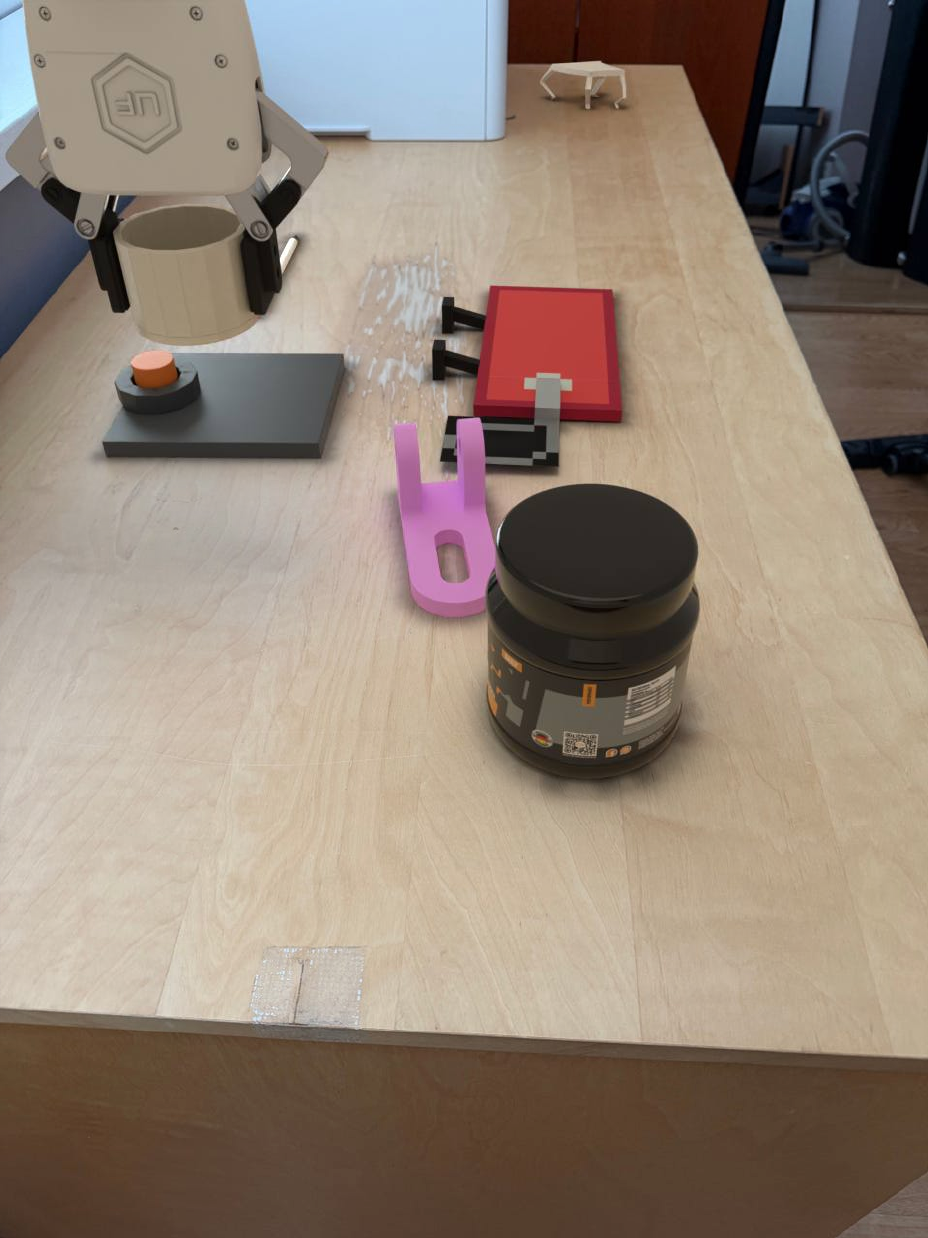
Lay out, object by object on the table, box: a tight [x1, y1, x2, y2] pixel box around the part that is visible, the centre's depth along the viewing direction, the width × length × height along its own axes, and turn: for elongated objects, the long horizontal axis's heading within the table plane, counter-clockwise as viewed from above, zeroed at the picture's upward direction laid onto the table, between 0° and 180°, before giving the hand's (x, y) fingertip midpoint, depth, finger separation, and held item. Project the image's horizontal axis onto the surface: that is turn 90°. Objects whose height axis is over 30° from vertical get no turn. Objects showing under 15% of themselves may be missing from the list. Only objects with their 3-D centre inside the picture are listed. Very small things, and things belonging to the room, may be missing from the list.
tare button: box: [130, 349, 178, 388], centre depth 80 cm, size 3×3×2 cm
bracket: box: [393, 418, 495, 618], centre depth 65 cm, size 13×6×7 cm, turn 7°
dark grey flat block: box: [101, 352, 346, 460], centre depth 81 cm, size 16×14×3 cm
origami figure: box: [539, 60, 627, 110], centre depth 142 cm, size 12×8×5 cm
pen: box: [280, 234, 299, 275], centre depth 101 cm, size 1×19×1 cm, turn 176°
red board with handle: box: [431, 285, 623, 467], centre depth 84 cm, size 30×3×15 cm
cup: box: [113, 203, 261, 347], centre depth 55 cm, size 7×7×5 cm
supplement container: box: [484, 482, 701, 779], centre depth 53 cm, size 10×10×12 cm
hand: (195, 300), depth 57 cm, fingers closed on cup, 6 cm apart
